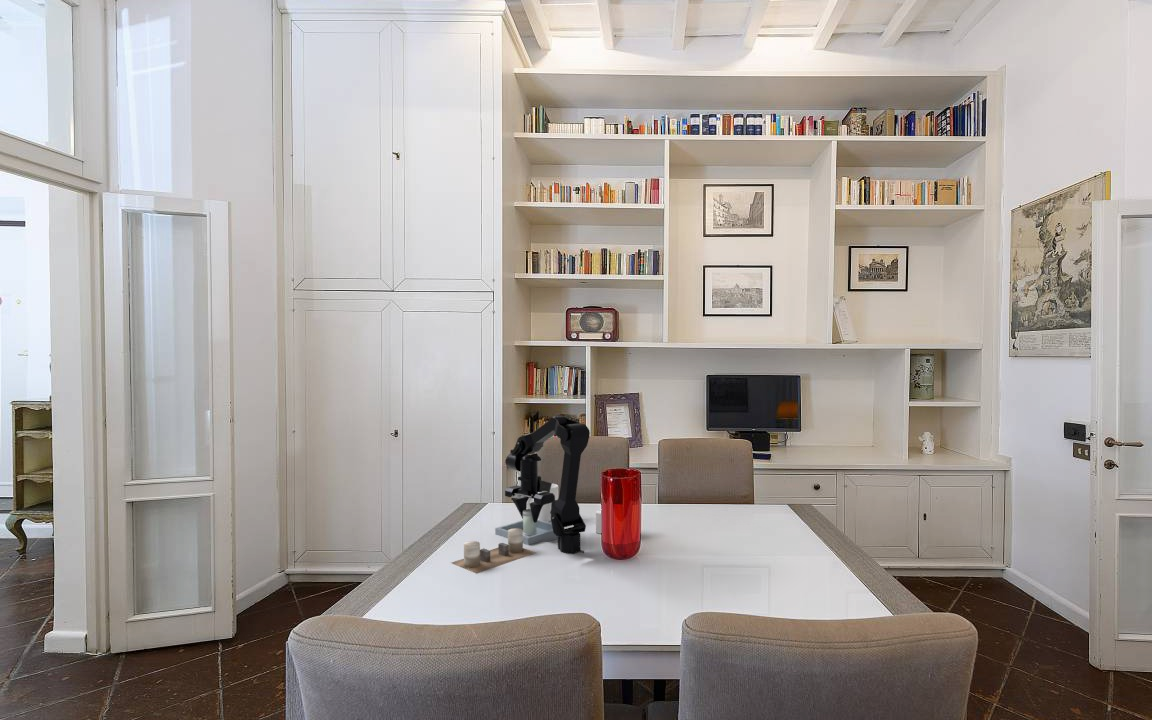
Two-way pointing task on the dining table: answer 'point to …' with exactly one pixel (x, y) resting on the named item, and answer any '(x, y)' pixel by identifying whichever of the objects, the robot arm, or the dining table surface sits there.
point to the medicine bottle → (598, 520)
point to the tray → (543, 534)
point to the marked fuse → (528, 523)
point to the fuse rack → (493, 553)
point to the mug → (546, 505)
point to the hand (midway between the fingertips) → (529, 520)
